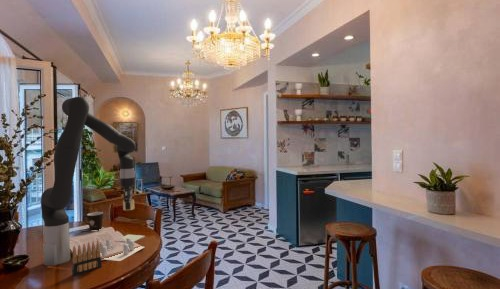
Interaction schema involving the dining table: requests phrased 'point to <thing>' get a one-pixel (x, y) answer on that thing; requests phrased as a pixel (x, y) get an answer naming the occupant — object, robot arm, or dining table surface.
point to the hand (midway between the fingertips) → (128, 208)
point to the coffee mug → (94, 220)
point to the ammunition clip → (86, 259)
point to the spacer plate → (123, 255)
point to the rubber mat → (133, 237)
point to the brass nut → (130, 204)
